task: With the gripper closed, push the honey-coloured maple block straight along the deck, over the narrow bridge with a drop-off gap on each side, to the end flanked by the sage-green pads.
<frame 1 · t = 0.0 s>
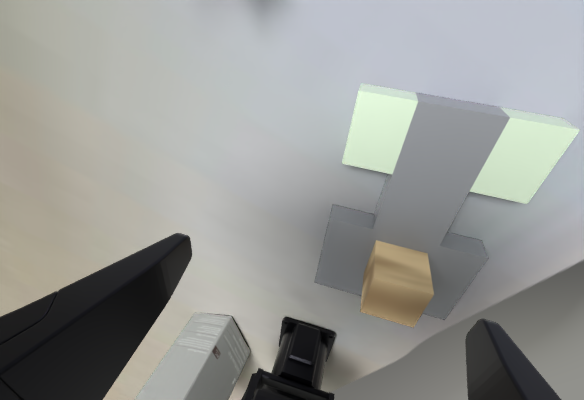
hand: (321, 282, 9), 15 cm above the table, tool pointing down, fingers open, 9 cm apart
skincare box: (221, 328, 42), on the table
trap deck: (408, 212, 24), on the table
maple block: (393, 263, 24), point 2 cm above the table, touching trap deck
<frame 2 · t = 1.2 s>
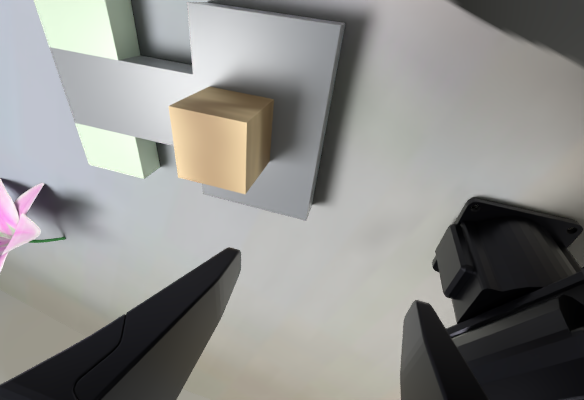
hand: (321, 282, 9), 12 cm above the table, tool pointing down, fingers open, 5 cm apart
lily: (45, 207, 33), on the table
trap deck: (198, 104, 20), on the table
maple block: (240, 125, 18), point 2 cm above the table, touching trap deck
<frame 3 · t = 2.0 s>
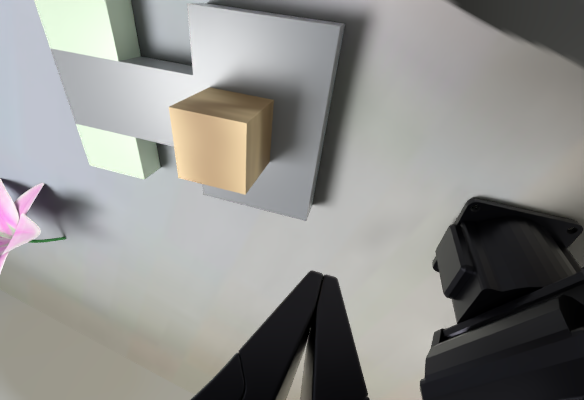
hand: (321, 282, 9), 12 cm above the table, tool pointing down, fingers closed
lily: (45, 207, 33), on the table
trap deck: (198, 105, 20), on the table
maple block: (240, 126, 18), point 2 cm above the table, touching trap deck
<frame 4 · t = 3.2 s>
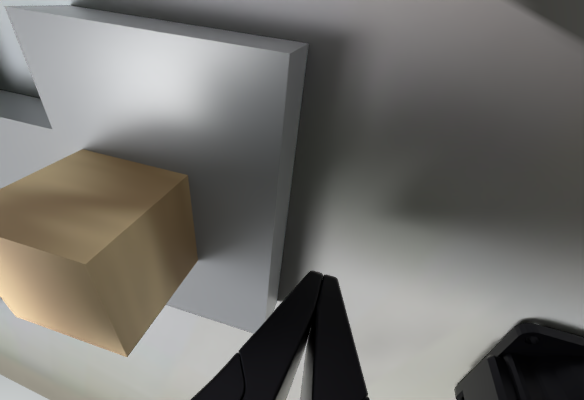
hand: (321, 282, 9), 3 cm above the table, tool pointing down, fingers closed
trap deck: (95, 162, 13), on the table
maple block: (144, 209, 11), point 2 cm above the table, touching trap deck
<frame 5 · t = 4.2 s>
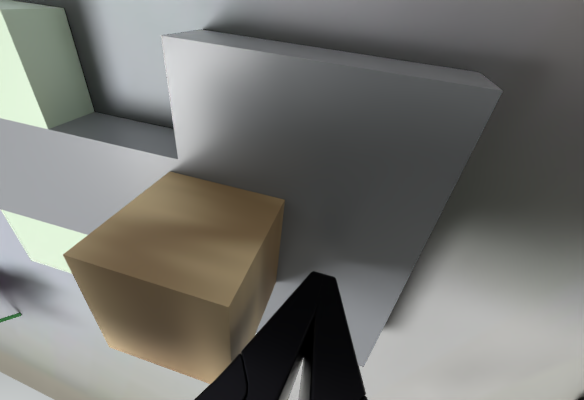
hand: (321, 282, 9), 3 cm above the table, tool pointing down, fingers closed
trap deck: (191, 186, 13), on the table
maple block: (227, 231, 11), point 2 cm above the table, touching gripper
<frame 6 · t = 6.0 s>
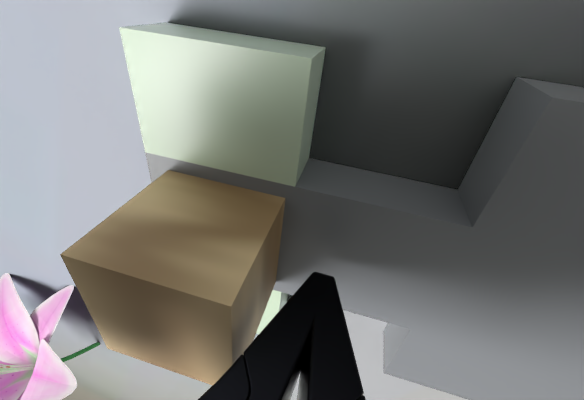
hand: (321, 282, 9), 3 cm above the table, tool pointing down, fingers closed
lily: (72, 308, 23), on the table
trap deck: (401, 238, 11), on the table
maple block: (226, 230, 10), point 2 cm above the table, touching gripper, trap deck
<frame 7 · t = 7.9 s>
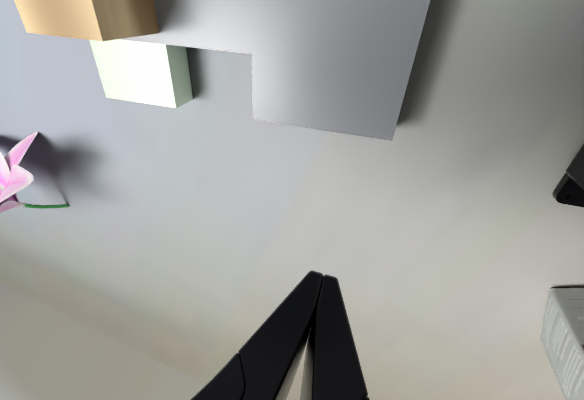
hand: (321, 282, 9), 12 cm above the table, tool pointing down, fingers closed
lily: (42, 167, 28), on the table
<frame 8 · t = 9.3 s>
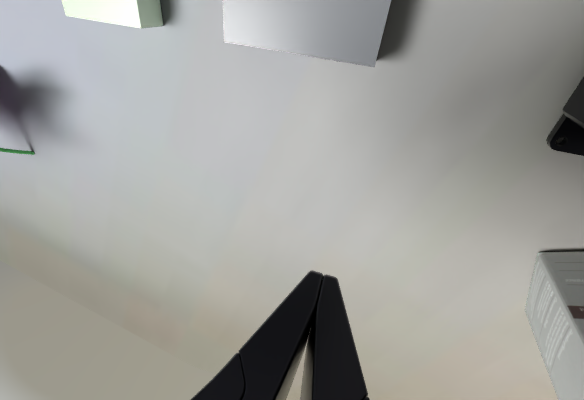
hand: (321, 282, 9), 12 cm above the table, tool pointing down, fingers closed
lily: (5, 108, 26), on the table
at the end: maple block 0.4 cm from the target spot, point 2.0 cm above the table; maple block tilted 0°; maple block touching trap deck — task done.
